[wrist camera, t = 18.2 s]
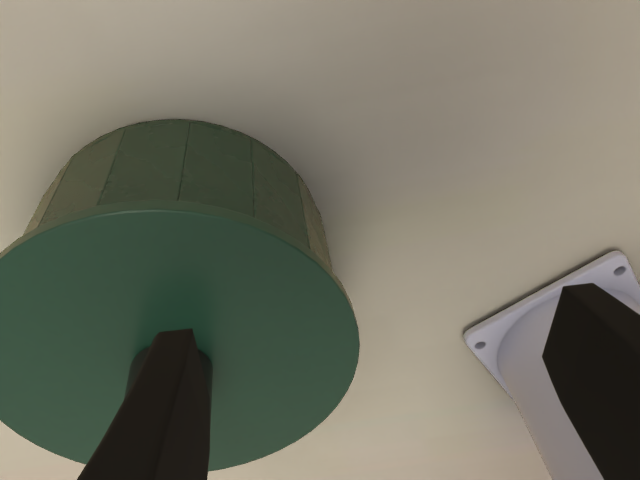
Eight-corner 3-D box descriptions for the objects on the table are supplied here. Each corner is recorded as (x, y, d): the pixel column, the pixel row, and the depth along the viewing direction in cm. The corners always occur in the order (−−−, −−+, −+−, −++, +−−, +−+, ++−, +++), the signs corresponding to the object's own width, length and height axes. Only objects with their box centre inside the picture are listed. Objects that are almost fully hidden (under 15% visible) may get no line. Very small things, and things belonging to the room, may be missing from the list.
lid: (354, 426, 21) (376, 541, 18) (49, 466, 20) (11, 594, 17) (353, 166, 14) (390, 271, 11) (-105, 209, 14) (-220, 337, 10)
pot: (324, 322, 25) (344, 434, 20) (89, 349, 24) (55, 472, 20) (314, 106, 19) (339, 196, 14) (-2, 133, 18) (-83, 237, 13)
